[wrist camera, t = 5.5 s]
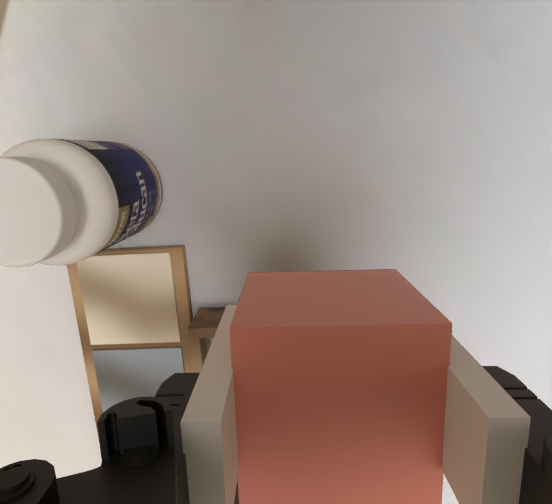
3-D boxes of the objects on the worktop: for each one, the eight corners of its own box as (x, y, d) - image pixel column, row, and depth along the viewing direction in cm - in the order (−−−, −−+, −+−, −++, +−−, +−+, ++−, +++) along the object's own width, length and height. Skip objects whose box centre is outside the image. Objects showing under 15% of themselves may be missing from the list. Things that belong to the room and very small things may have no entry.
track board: (70, 251, 25) (63, 254, 25) (184, 245, 25) (180, 248, 24) (126, 567, 31) (122, 577, 30) (220, 566, 31) (218, 577, 30)
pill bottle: (165, 237, 25) (85, 291, 15) (76, 232, 25) (-57, 283, 16) (163, 143, 24) (74, 139, 14) (69, 139, 24) (-81, 133, 14)
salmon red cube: (248, 272, 14) (229, 327, 10) (395, 269, 14) (451, 323, 9) (254, 404, 15) (239, 514, 11) (391, 402, 15) (440, 513, 10)
